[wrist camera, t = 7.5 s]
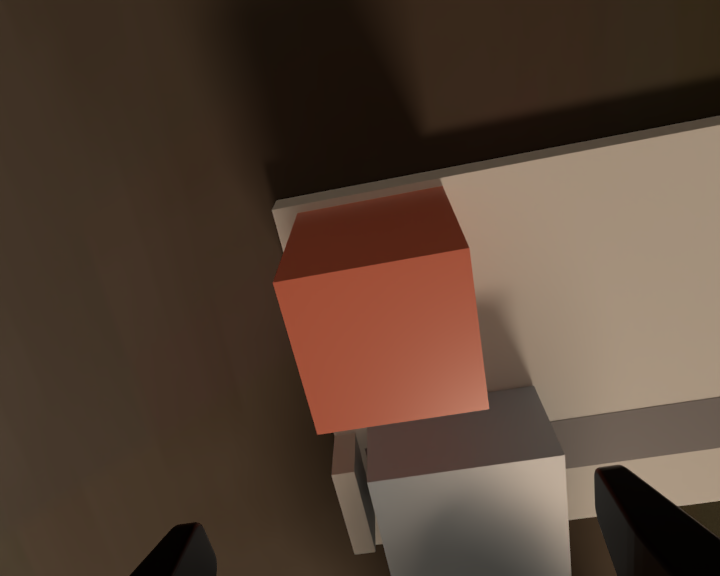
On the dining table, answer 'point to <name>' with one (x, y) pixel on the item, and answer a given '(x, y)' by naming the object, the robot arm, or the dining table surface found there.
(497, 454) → the breaker toggle
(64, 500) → the dining table surface
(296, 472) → the dining table surface
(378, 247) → the cap
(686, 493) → the panel
